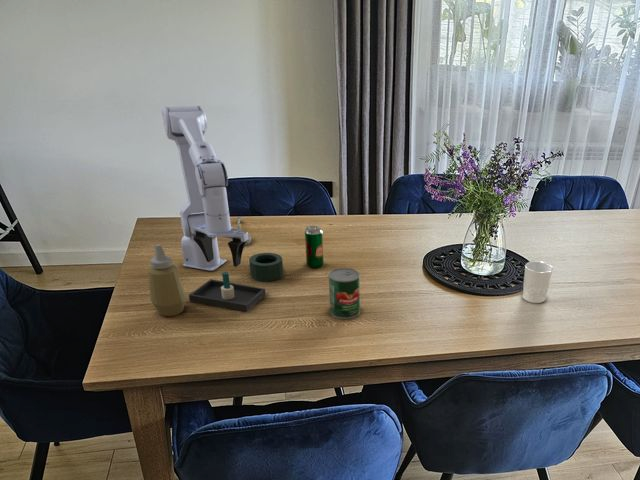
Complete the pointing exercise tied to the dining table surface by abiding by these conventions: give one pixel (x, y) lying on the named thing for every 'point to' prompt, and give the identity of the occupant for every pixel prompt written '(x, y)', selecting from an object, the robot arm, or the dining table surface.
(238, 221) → the soupspoon
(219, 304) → the tray
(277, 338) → the dining table surface
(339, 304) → the canned tomato
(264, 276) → the jar
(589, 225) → the dining table surface
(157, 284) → the squeeze bottle
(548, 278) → the white cup
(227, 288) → the teal peg on base
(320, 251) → the soda can
